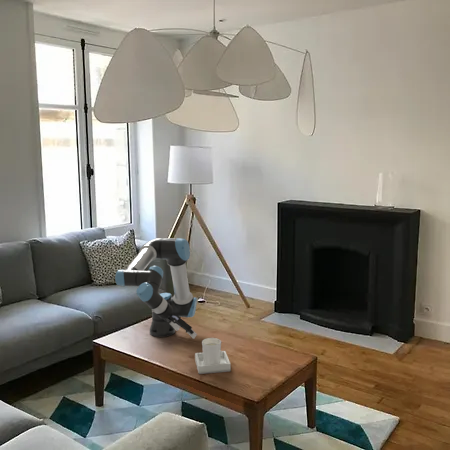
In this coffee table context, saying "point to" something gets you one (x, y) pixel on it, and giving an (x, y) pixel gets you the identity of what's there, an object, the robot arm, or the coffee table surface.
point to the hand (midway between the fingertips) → (186, 332)
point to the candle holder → (211, 351)
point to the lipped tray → (213, 368)
